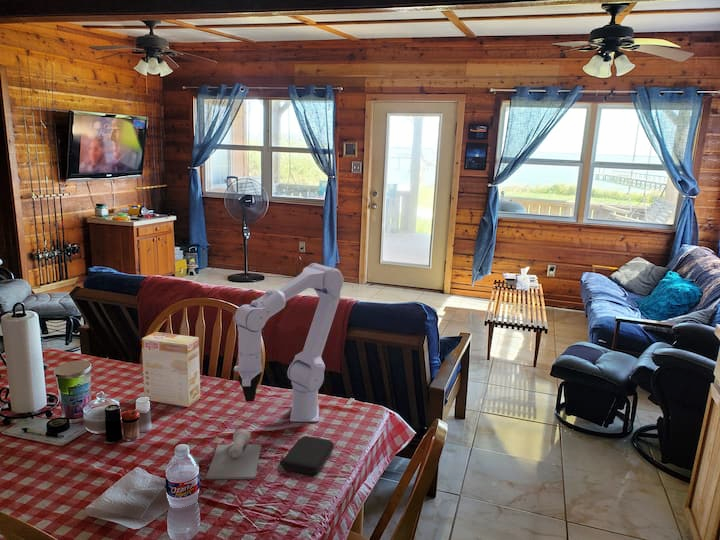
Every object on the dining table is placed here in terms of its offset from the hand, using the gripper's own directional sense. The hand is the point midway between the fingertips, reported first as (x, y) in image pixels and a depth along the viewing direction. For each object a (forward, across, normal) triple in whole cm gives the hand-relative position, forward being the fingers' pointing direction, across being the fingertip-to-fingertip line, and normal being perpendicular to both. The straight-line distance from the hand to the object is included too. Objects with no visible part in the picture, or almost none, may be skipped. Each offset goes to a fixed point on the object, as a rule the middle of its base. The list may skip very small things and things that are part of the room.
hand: (250, 400), depth 142 cm
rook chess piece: (+8, +4, -1) cm, 9 cm away
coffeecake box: (+11, -22, -26) cm, 36 cm away
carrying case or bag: (+11, +11, +15) cm, 22 cm away
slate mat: (+10, +12, -2) cm, 16 cm away
